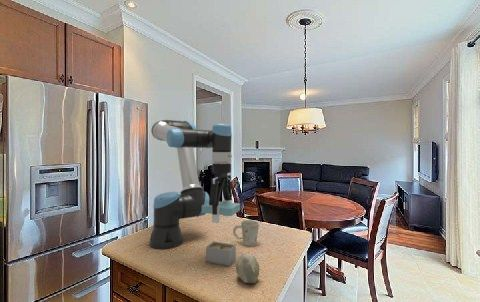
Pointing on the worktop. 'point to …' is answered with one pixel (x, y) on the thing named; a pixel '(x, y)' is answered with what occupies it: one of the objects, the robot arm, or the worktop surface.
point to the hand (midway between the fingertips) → (221, 219)
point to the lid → (222, 208)
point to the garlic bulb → (247, 268)
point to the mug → (248, 232)
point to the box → (221, 253)
